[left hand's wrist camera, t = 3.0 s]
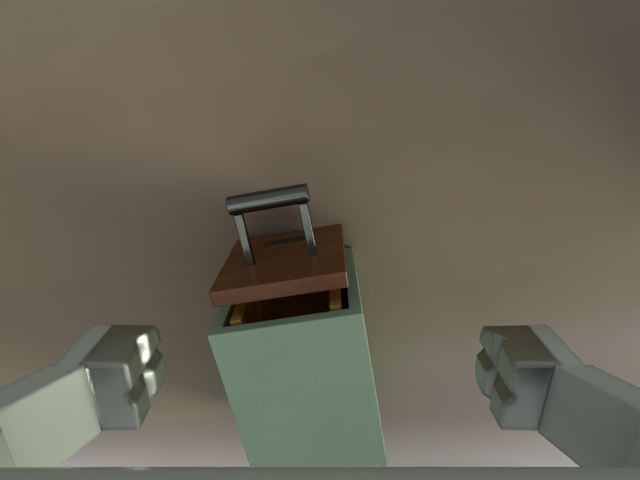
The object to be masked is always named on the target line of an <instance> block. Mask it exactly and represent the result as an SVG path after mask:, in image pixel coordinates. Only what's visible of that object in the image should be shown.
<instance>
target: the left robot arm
mask: <svg viewBox="0 0 640 480" xmlns="http://www.w3.org/2000/svg"><path fill="white" fill-rule="evenodd" d="M159 342H160V336H159V331H158V329H157V328H156V327H155V326H146V325H94V326H91V327H90V328H89V329H88V330H87V331H86V332H85V333H84V334H83V335H82V336H81V337H80V338H79V340H78V341H77V342H76V343H75V344H74V345H73V346H72V347H71V348H70V349H69V350H68V351H67V352H66V354H65V355H64V356H63V357H62V358H61V359H60V360H59V361H58V362H57V363H56V364H55V365H48V366H45V367H43V368H41V369H39V370H37V371H35V372H33V373H31V374H29V375H27V376H25V377H23V378H21V379H18V380H16V381H14V382H12V383H10V384H8V385H6V386H4V387H2V388H0V480H640V388H638V387H636V386H634V385H632V384H630V383H628V382H626V381H624V380H621V379H619V378H617V377H615V376H613V375H611V374H609V373H607V372H605V371H603V370H601V369H599V368H597V367H594V366H592V365H585V364H584V363H583V362H582V361H581V360H580V359H579V358H578V357H577V356H576V355H575V354H574V352H573V351H572V350H571V349H570V348H569V347H568V346H567V345H566V344H565V343H564V342H563V341H562V339H561V338H560V337H559V336H558V335H557V334H556V333H555V332H554V331H553V330H552V329H551V328H550V327H549V326H547V325H545V324H544V325H523V326H484V327H483V329H482V331H481V335H480V342H481V344H482V346H483V347H484V349H483V350H482V351H481V352H480V353H479V354H478V355H477V359H476V366H475V368H476V378H477V382H478V385H479V388H480V390H481V392H482V394H484V395H485V396H487V397H488V398H489V399H491V403H490V409H491V411H492V413H493V415H494V417H495V419H496V421H497V423H498V425H499V427H500V429H503V430H539V431H538V432H539V433H540V434H541V435H542V436H543V437H545V438H546V439H547V440H548V441H550V442H551V443H552V444H553V445H554V446H556V447H557V448H558V449H559V450H560V451H562V452H563V453H564V454H565V455H567V456H568V457H569V458H570V459H571V460H573V461H574V462H575V463H576V464H578V465H579V466H580V467H60V466H61V465H63V464H64V463H65V462H66V461H67V460H69V459H70V458H71V457H72V456H74V455H75V454H76V453H77V452H78V451H80V450H81V449H82V448H83V447H85V446H86V445H87V444H88V443H89V442H91V441H92V440H93V439H94V438H96V437H97V436H98V435H99V434H100V433H102V431H101V430H136V429H140V427H141V425H142V423H143V421H144V419H145V417H146V415H147V413H148V411H149V409H150V403H149V399H151V398H152V397H153V396H155V395H156V394H158V392H159V389H160V387H161V385H162V381H163V377H164V358H163V355H162V354H161V353H160V352H159V351H158V350H157V349H156V347H157V346H158V344H159Z"/></svg>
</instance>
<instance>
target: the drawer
mask: <svg viewBox="0 0 640 480" xmlns="http://www.w3.org/2000/svg"><path fill="white" fill-rule="evenodd" d="M309 201H310V197H309V191H308V186H307V184H306V183H305V184H299V185H293V186H287V187H282V188H276V189H270V190H264V191H259V192H253V193H247V194H241V195H236V196H230V197H227V198H226V207H227V210H228V213H229V214H230V215H234V220H235V224H236V227H237V231H238V235H239V239H240V241H237V242H236V244H235V246H234V247H233V249H232V251H231V253H230V255H229V257H228V258H227V260H226V262H225V264H224V266H223V267H222V269H221V271H220V273H219V275H218V277H217V278H216V280H215V282H214V284H213V286H212V288H211V289H210V291H209V296H210V299H211V302H212V305H213V307H214V308H215V307H221V306H228V305H234V304H237V305H236V307H235V310H234V312H233V315H232V317H231V320H230V324H231V326H235V325H242V324H248V323H255V322H262V321H269V320H276V319H282V318H289V317H296V316H303V315H309V314H316V313H323V312H330V311H337V310H343V309H348V307H347V301H346V296H345V290H344V288H346V287H349V284H348V274H347V264H346V254H345V245H344V235H343V229H342V224H337V225H331V226H325V227H319V228H312V223H311V218H310V213H309V208H308V203H307V202H309ZM295 204H299V210H300V214H301V219H302V224H303V229H304V230H301V231H294V232H288V233H282V234H276V235H270V236H264V237H258V238H252V239H250V238H249V234H248V231H247V227H246V223H245V219H244V215H243V213H248V212H254V211H260V210H266V209H272V208H278V207H283V206H289V205H295Z"/></svg>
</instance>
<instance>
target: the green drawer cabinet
mask: <svg viewBox="0 0 640 480" xmlns="http://www.w3.org/2000/svg"><path fill="white" fill-rule="evenodd" d="M345 254H346V264H347V274H348V284H349V287H346V288H344V290H345V296H346V301H347V307H348V309H343V310H337V311H330V312H323V313H316V314H309V315H303V316H296V317H289V318H282V319H276V320H269V321H262V322H255V323H248V324H242V325H235V326H231V324H230V320H231V317H232V315H233V312H234V310H235V307H236V305H237V304H234V305H228V306H221V307H220V310H219V312H218V314H217V316H216V318H215V320H214V323H213V325H212V327H211V329H210V331H209V333H208V335H207V337H208V340H209V343H210V346H211V349H212V352H213V355H214V358H215V361H216V364H217V367H218V370H219V373H220V376H221V379H222V382H223V385H224V388H225V391H226V394H227V397H228V400H229V403H230V406H231V409H232V412H233V415H234V418H235V421H236V424H237V427H238V430H239V433H240V436H241V439H242V442H243V445H244V448H245V451H246V454H247V457H248V460H249V463H250V466H251V467H388V463H387V457H386V450H385V444H384V437H383V431H382V425H381V418H380V412H379V405H378V399H377V393H376V387H375V381H374V374H373V368H372V362H371V356H370V350H369V344H368V338H367V332H366V326H365V320H364V314H363V308H362V301H361V295H360V289H359V283H358V277H357V271H356V265H355V259H354V253H353V248H352V247H350V248H345Z"/></svg>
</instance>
